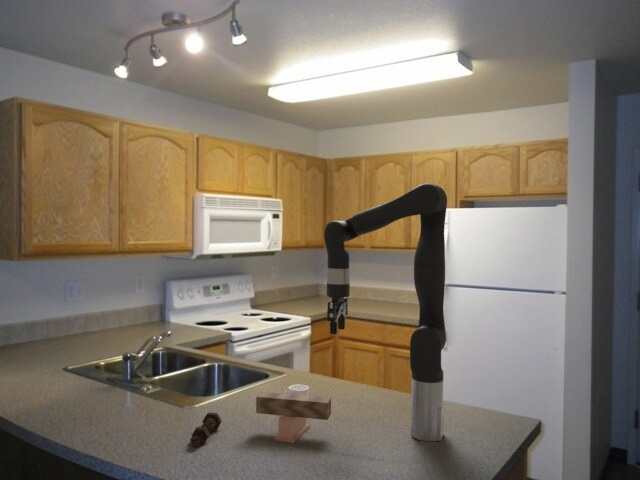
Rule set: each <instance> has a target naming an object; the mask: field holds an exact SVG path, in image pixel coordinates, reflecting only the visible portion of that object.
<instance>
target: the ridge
mask: <svg viewBox="0 0 640 480" xmlns="http://www.w3.org/2000/svg"><path fill="white" fill-rule="evenodd" d="M310 427H311V424H310V423H307V418H301V417H291V416H281V417H280V418H279V419H278V433H277V434H276V435H275V436H274V441H278V442H285V443H291V444H294V443H296V442H297V440H298V439H299V438H301V436H303V435H304V434H305V433H306V432H307V431H308V429H310Z"/></svg>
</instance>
